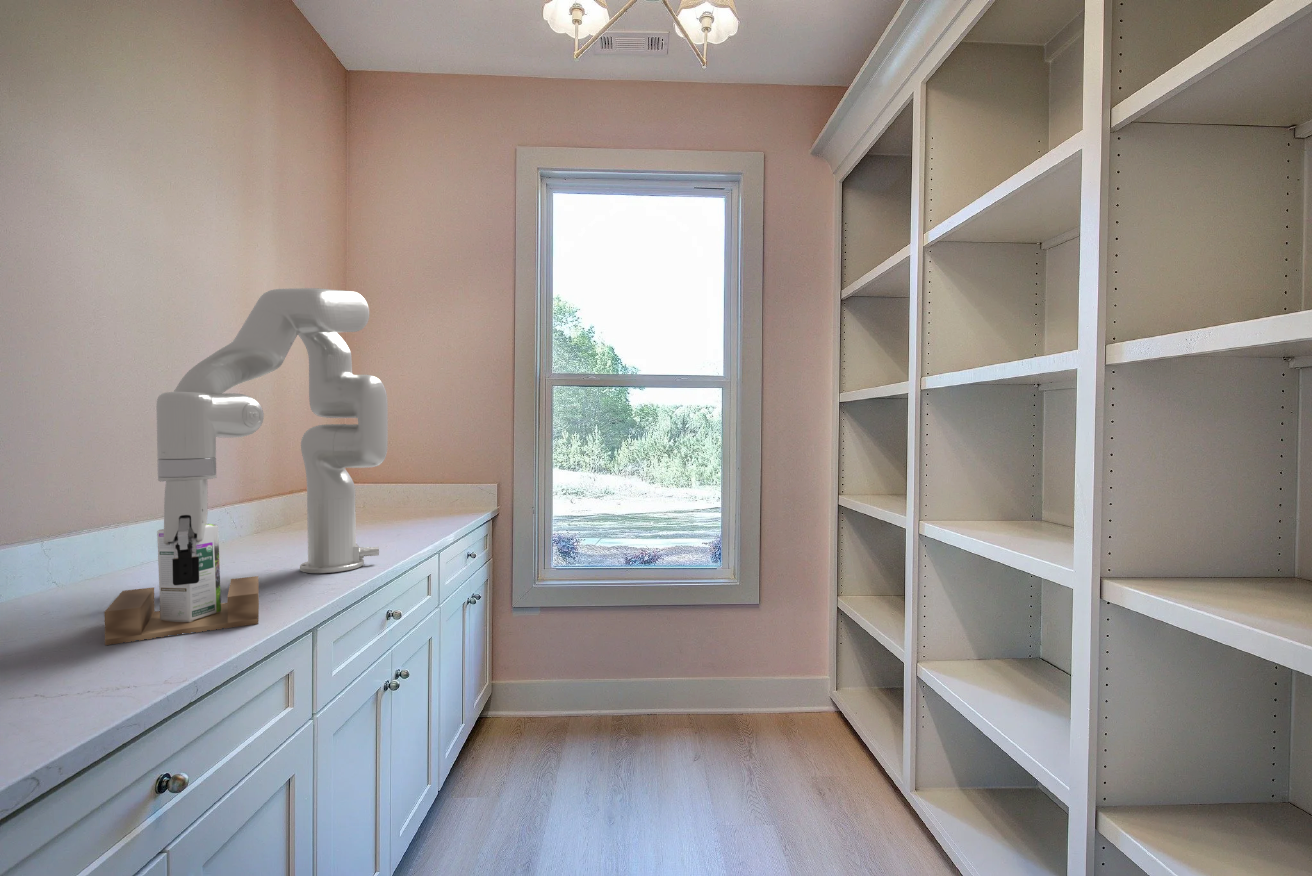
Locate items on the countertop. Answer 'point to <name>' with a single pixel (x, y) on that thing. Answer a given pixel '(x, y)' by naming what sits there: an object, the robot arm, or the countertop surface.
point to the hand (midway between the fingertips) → (189, 577)
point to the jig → (140, 621)
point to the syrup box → (195, 597)
